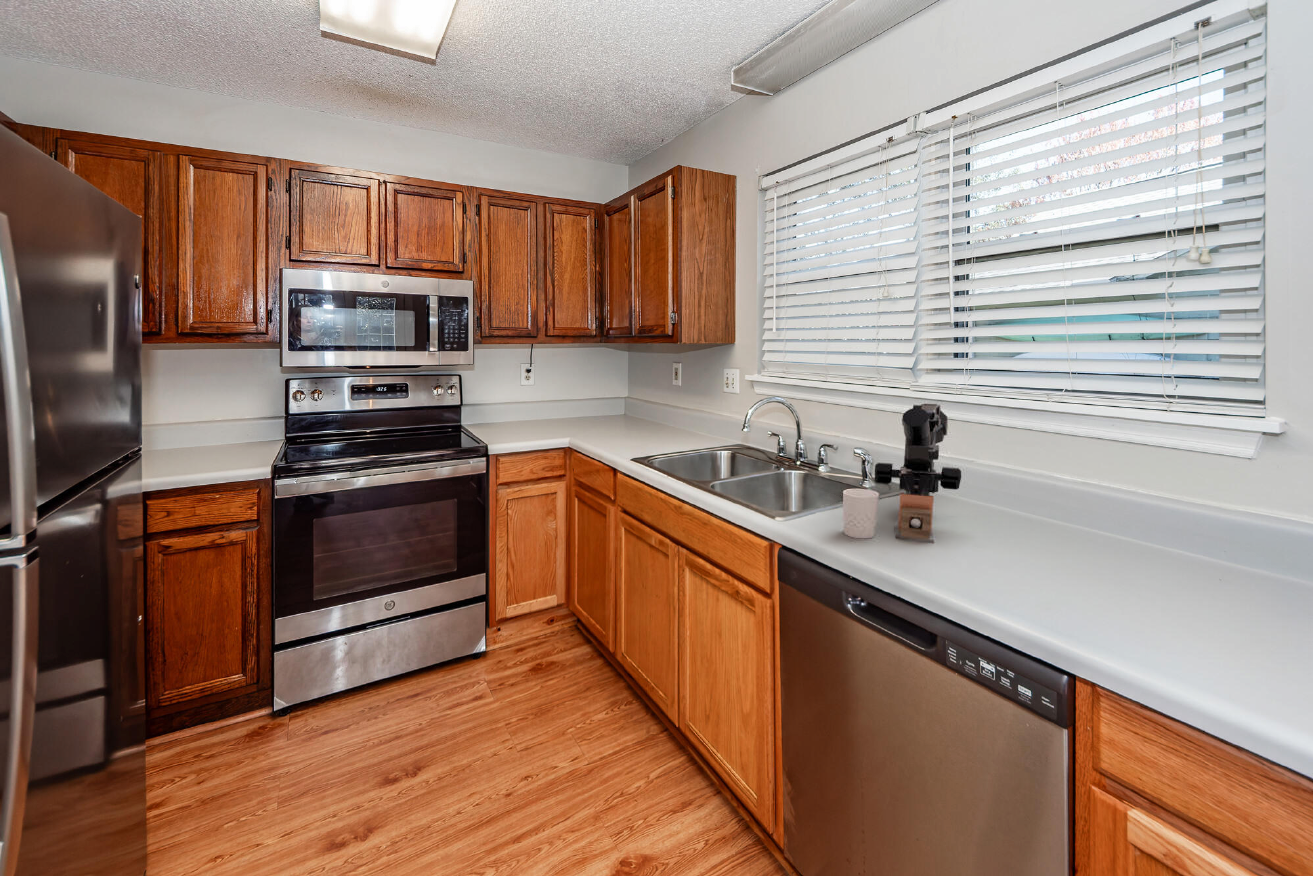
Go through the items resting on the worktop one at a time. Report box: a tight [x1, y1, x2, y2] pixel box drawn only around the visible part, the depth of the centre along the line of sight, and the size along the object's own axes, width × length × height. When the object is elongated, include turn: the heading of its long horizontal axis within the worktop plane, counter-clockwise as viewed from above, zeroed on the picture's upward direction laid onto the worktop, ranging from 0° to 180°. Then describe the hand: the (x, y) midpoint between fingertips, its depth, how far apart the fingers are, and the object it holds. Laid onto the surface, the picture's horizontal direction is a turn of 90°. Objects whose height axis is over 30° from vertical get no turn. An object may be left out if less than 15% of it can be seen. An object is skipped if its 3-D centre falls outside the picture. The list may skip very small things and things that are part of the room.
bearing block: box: [895, 507, 935, 544], centre depth 135 cm, size 10×8×7 cm
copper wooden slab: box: [898, 492, 934, 533], centre depth 132 cm, size 5×7×9 cm
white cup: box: [842, 488, 880, 539], centre depth 135 cm, size 8×8×10 cm
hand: (915, 506), depth 135 cm, fingers closed, pressing on copper wooden slab
